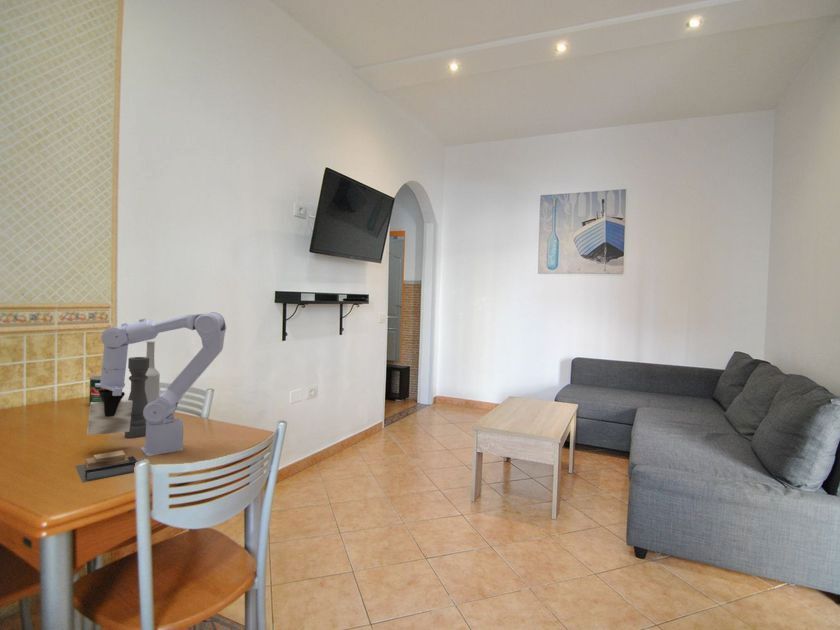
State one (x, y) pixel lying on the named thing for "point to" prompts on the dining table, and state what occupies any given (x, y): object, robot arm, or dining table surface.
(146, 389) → the bottle
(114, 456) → the offcut stack
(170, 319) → the robot arm
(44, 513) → the dining table surface
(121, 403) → the beige flat block
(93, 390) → the canned tomato
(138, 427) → the candle holder
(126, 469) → the rack
